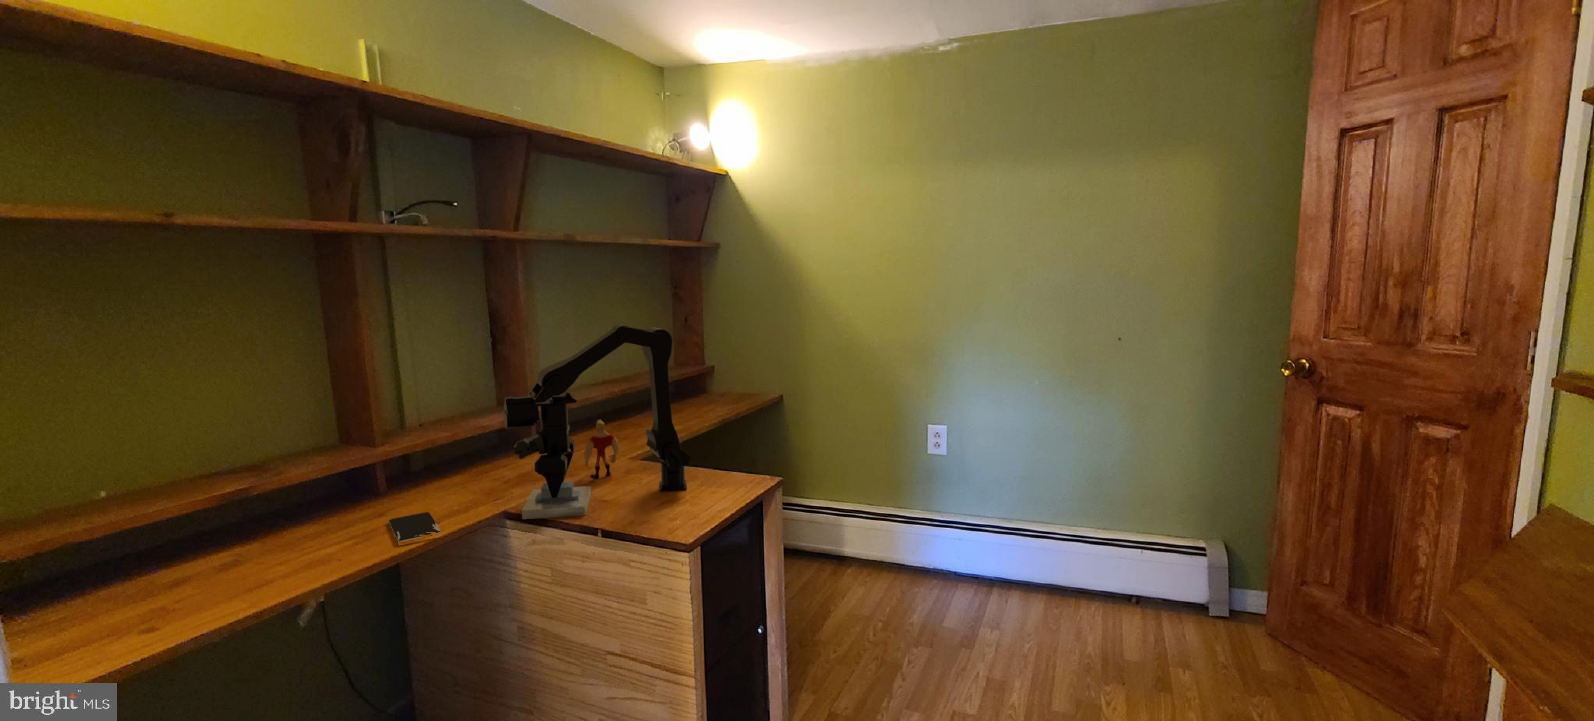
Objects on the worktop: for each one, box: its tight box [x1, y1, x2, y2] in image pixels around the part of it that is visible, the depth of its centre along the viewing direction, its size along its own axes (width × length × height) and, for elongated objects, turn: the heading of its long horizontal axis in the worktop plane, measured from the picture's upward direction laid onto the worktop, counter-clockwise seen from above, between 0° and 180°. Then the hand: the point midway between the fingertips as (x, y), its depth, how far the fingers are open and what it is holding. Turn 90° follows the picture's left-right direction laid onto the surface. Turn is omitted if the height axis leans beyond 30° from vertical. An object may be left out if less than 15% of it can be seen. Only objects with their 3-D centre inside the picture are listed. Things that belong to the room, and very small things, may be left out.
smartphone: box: [388, 512, 442, 542], centre depth 138 cm, size 8×1×15 cm
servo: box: [535, 481, 580, 503], centre depth 154 cm, size 8×9×5 cm
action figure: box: [583, 419, 620, 479], centre depth 174 cm, size 10×4×15 cm, turn 129°
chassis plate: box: [521, 485, 592, 520], centre depth 153 cm, size 14×13×2 cm
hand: (557, 490), depth 152 cm, fingers open, 9 cm apart
